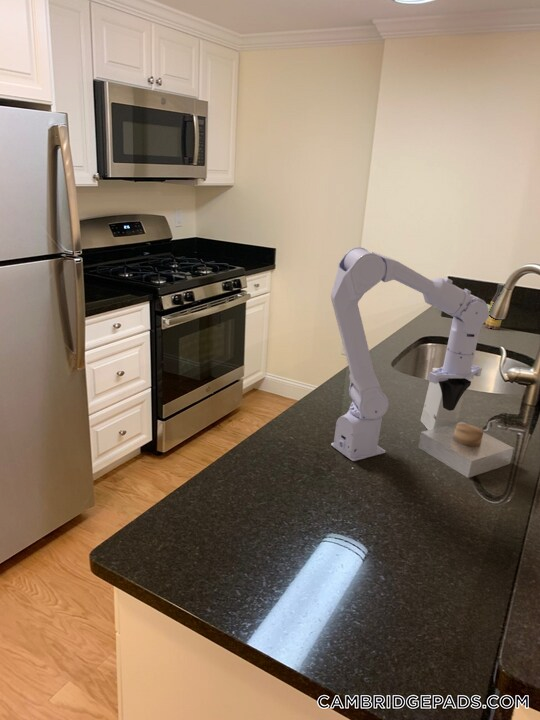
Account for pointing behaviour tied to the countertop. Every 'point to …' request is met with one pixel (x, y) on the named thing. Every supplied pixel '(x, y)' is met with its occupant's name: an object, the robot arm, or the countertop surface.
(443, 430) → the block
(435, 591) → the countertop surface
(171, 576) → the countertop surface
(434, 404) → the skincare box
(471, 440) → the pin
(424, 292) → the robot arm
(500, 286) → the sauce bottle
